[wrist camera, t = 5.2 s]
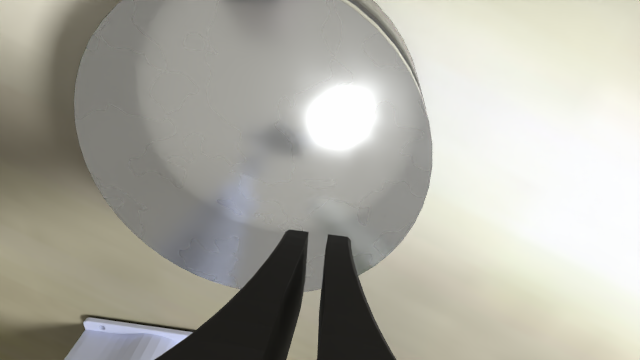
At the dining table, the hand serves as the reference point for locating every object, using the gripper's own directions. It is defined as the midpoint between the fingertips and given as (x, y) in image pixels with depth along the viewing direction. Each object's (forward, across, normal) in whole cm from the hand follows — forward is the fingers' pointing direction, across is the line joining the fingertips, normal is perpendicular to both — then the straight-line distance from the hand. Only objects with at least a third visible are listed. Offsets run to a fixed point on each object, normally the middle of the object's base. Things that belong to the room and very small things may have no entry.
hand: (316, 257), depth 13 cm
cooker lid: (+6, +3, -2) cm, 7 cm away
